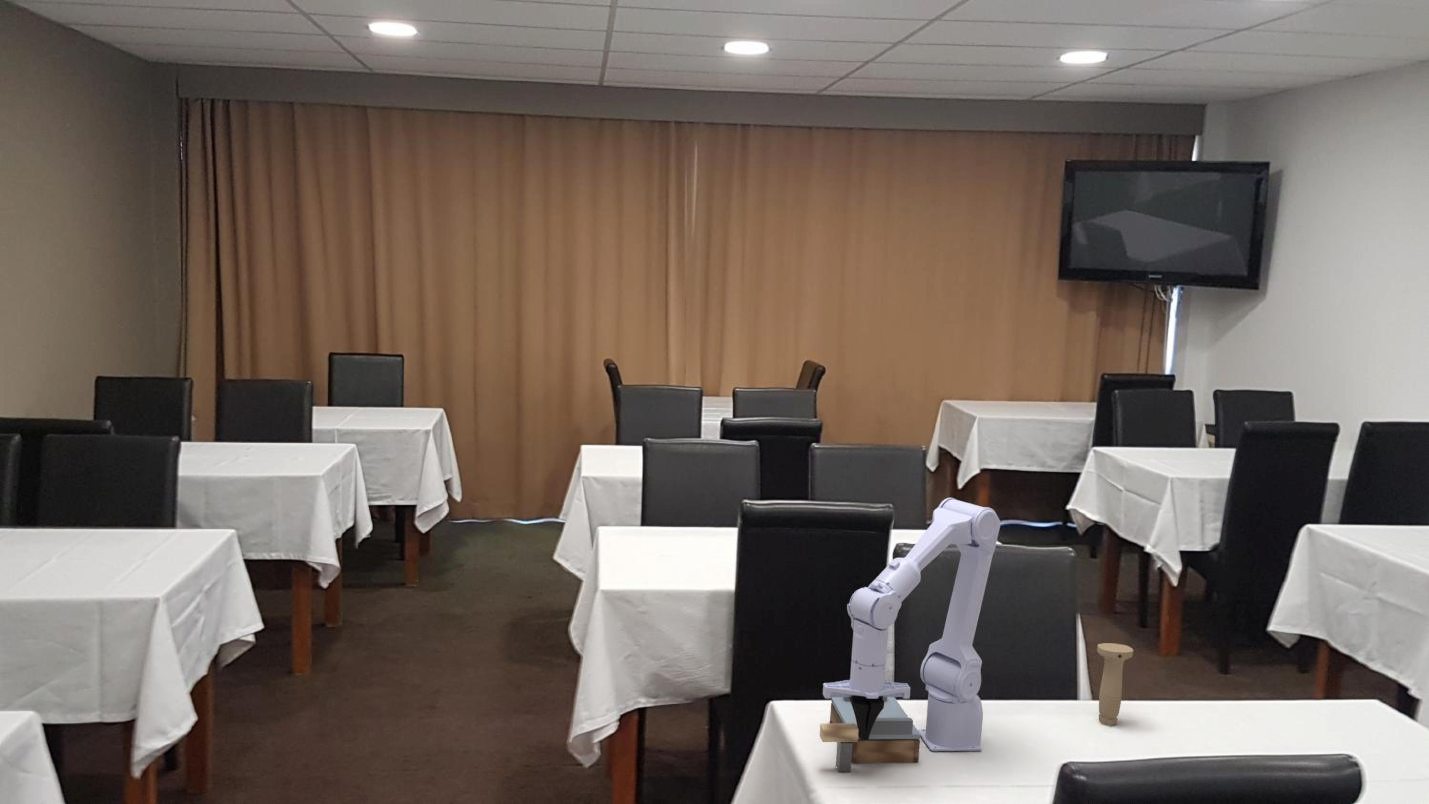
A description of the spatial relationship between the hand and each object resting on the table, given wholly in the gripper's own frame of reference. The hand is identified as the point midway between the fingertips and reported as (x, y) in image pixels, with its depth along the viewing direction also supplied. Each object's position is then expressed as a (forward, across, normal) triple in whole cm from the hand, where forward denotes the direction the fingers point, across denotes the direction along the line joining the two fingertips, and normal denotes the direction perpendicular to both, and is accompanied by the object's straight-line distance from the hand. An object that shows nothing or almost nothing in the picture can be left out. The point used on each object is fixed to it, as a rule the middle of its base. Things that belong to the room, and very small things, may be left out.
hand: (863, 737), depth 182 cm
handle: (+6, +53, +18) cm, 57 cm away
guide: (+6, -3, 0) cm, 6 cm away
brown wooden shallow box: (+6, +5, +10) cm, 13 cm away
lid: (+1, +5, +10) cm, 11 cm away
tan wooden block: (0, -4, 0) cm, 4 cm away
